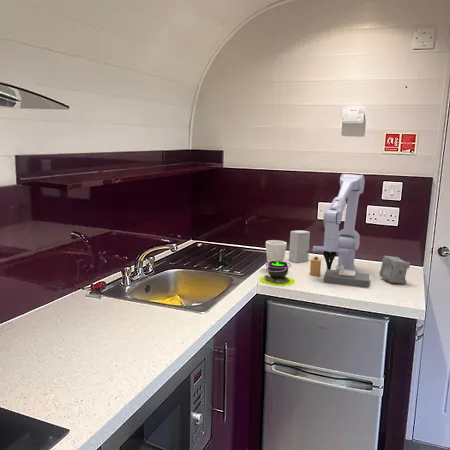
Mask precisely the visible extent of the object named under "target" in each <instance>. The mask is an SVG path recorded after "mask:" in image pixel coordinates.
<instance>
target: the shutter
mask: <svg viewBox="0 0 450 450" xmlns="http://www.w3.org/2000/svg"><path fill="white" fill-rule="evenodd" d="M343 269H344V266H342V265H341V266H340V271H339V274H338V275H343V276H351V277H355V273H356V270H354V271H349V270H343Z"/></svg>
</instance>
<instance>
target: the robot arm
mask: <svg viewBox="0 0 450 450" xmlns="http://www.w3.org/2000/svg"><path fill="white" fill-rule="evenodd" d="M365 182H366V180H365V176H364V175H363V174H351V173H342V174H341V175H340V177H339V186H340V188H339V191H338V195H337V196H335V197H334V198H333V200H332V201H331V204H330V205H329V208H328V209H327V210H325V211H324V213H323V226H324V239H323V246H320V245H313V246H312V252H320V253H321V252H322V253H323V254H322V255H323V257H324V260H325V263H326V270H327V269H329V270H330V269H332V265H333V262H334V260H335V257H336V256H337V254H338V258H337V259H338V260H337V266H336V267H335V270H340V266H341V265H342V266H344V269H343V270H349V271H355V268H356V265H355V255H356V254H355V253H356V251H357V250H358V249H359V247H360V244H361V243H360V242H361V241H360V237H361V236H360V234H359V232H358V231H357V230H355V228H356V227H355V225H356V221H357V213H358V212H357V211H358V205H359V198H360V195H361V194H363V193H364V189H365ZM346 200H347V201H346ZM345 208H346V209H345ZM344 210H345V215H344V217H345V218H344V223H343V229H340V224H341V222H342V220H343V214H344V213H343V212H344Z"/></svg>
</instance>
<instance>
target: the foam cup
mask: <svg viewBox="0 0 450 450" xmlns="http://www.w3.org/2000/svg"><path fill="white" fill-rule="evenodd" d="M287 244H288V243H287V242H286V241H284V240H279V239H278V240H277V239H272V240H271V239H269V240H266V241H265V251H266V252H265V253H266V262H271V261H275V260H276V261H283V262H285V255H286V251H287ZM274 255H275V256H274ZM279 256H280V257H279ZM282 256H283V258H282ZM271 257H272V258H271ZM269 259H270V260H269ZM266 264H267V263H266ZM267 265H269V263H268V264H267Z"/></svg>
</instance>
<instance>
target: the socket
mask: <svg viewBox="0 0 450 450" xmlns="http://www.w3.org/2000/svg"><path fill="white" fill-rule="evenodd" d="M339 271H340V270H338V269H332V268H331V269H330V270H329V269H327V268H326V271H325V272H324V274H323V284H324V283H325V284H334V285H341V286H349V287H355V288H356V287H358V288H359V287H360V288H366V289H368V288H369V282H370V273H365V272H358V271H357V272H356V273H355V277H351V276H343V275H338V274H339Z"/></svg>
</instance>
